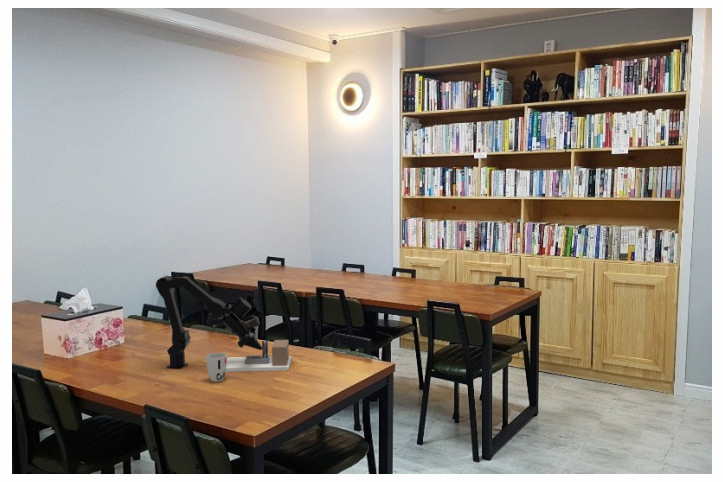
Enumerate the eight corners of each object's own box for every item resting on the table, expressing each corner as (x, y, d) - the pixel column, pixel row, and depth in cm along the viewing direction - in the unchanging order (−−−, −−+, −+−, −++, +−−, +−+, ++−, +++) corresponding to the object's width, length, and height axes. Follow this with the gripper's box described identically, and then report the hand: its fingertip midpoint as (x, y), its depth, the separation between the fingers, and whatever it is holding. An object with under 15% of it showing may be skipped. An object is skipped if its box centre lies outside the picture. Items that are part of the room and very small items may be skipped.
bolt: (261, 362, 261) (261, 342, 260) (262, 360, 264) (261, 340, 263) (284, 362, 262) (284, 341, 261) (285, 360, 265) (285, 339, 264)
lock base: (216, 371, 254) (216, 349, 253) (223, 360, 270) (223, 339, 269) (288, 370, 255) (288, 348, 254) (291, 359, 271) (291, 338, 270)
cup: (217, 384, 238) (217, 359, 237) (202, 381, 242) (201, 356, 241) (231, 378, 245) (231, 354, 244) (216, 375, 249) (215, 351, 248)
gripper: (245, 315, 251) (272, 341, 253) (251, 306, 270) (276, 330, 271) (226, 335, 252) (253, 360, 253) (233, 324, 270) (259, 348, 272)
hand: (261, 349), depth 262 cm, fingers closed, pressing on bolt
